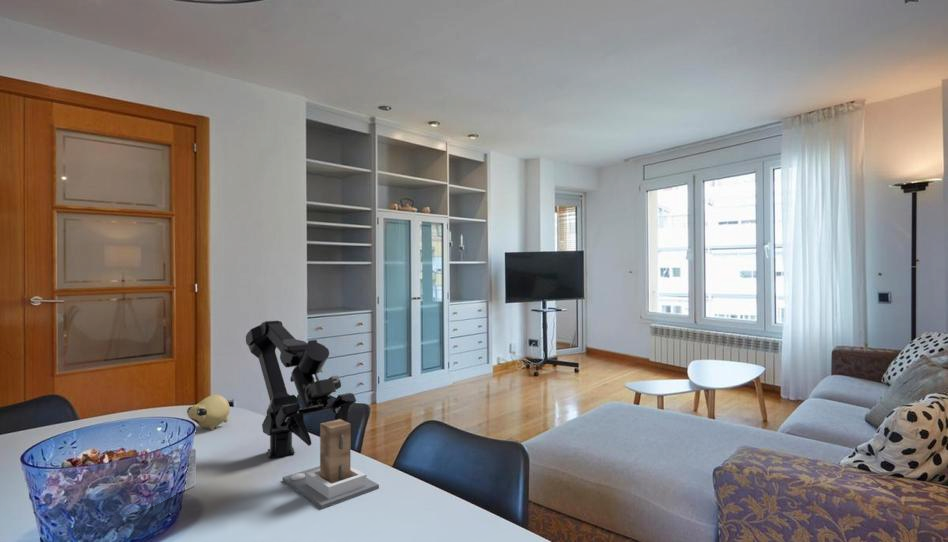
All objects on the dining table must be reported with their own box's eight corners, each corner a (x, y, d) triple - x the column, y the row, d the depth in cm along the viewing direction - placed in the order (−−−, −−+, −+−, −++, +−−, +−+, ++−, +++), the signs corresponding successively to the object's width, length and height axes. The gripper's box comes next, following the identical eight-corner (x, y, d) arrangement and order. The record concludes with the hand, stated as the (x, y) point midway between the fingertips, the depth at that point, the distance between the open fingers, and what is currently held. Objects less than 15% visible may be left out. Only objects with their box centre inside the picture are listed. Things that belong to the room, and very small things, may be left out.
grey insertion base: (282, 480, 111) (282, 466, 111) (336, 464, 121) (336, 451, 121) (321, 509, 97) (322, 493, 97) (378, 488, 107) (378, 473, 107)
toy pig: (181, 431, 149) (181, 398, 149) (217, 421, 159) (217, 390, 160) (200, 436, 144) (200, 401, 145) (235, 425, 155) (235, 393, 155)
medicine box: (196, 485, 109) (196, 448, 109) (179, 494, 104) (180, 455, 105) (170, 482, 111) (170, 445, 111) (152, 490, 106) (153, 452, 107)
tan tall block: (320, 484, 107) (320, 423, 108) (339, 478, 111) (340, 419, 111) (331, 492, 103) (332, 429, 103) (352, 485, 106) (352, 424, 107)
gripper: (281, 371, 107) (301, 430, 99) (352, 361, 121) (376, 412, 113) (267, 398, 113) (285, 457, 105) (337, 386, 126) (358, 437, 118)
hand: (328, 439), depth 110 cm, fingers open, 9 cm apart
